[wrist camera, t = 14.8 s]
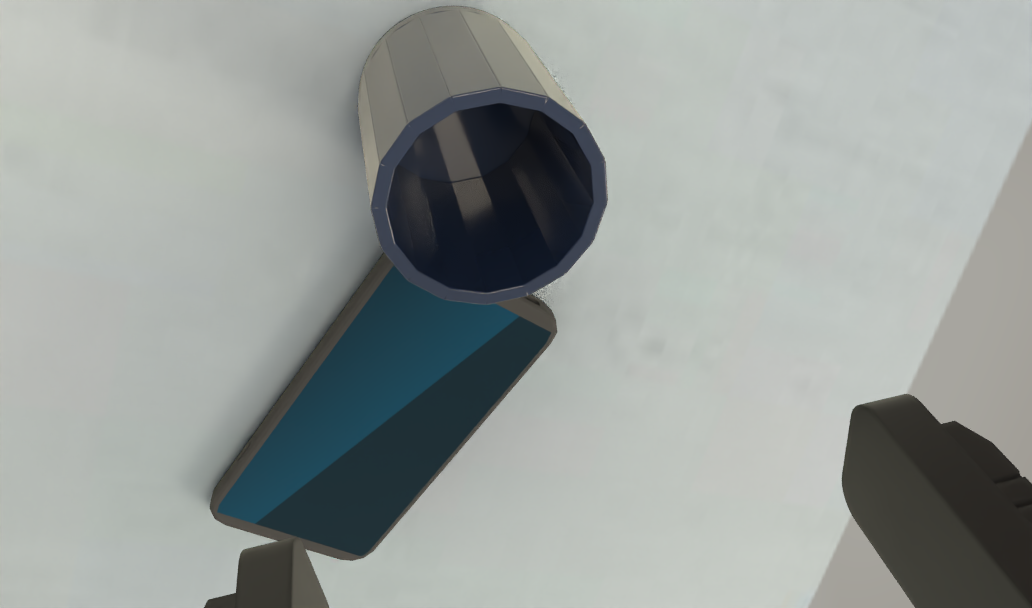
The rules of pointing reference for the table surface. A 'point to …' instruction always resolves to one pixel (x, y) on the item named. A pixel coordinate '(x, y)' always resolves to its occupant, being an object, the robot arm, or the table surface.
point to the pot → (475, 159)
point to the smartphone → (378, 413)
